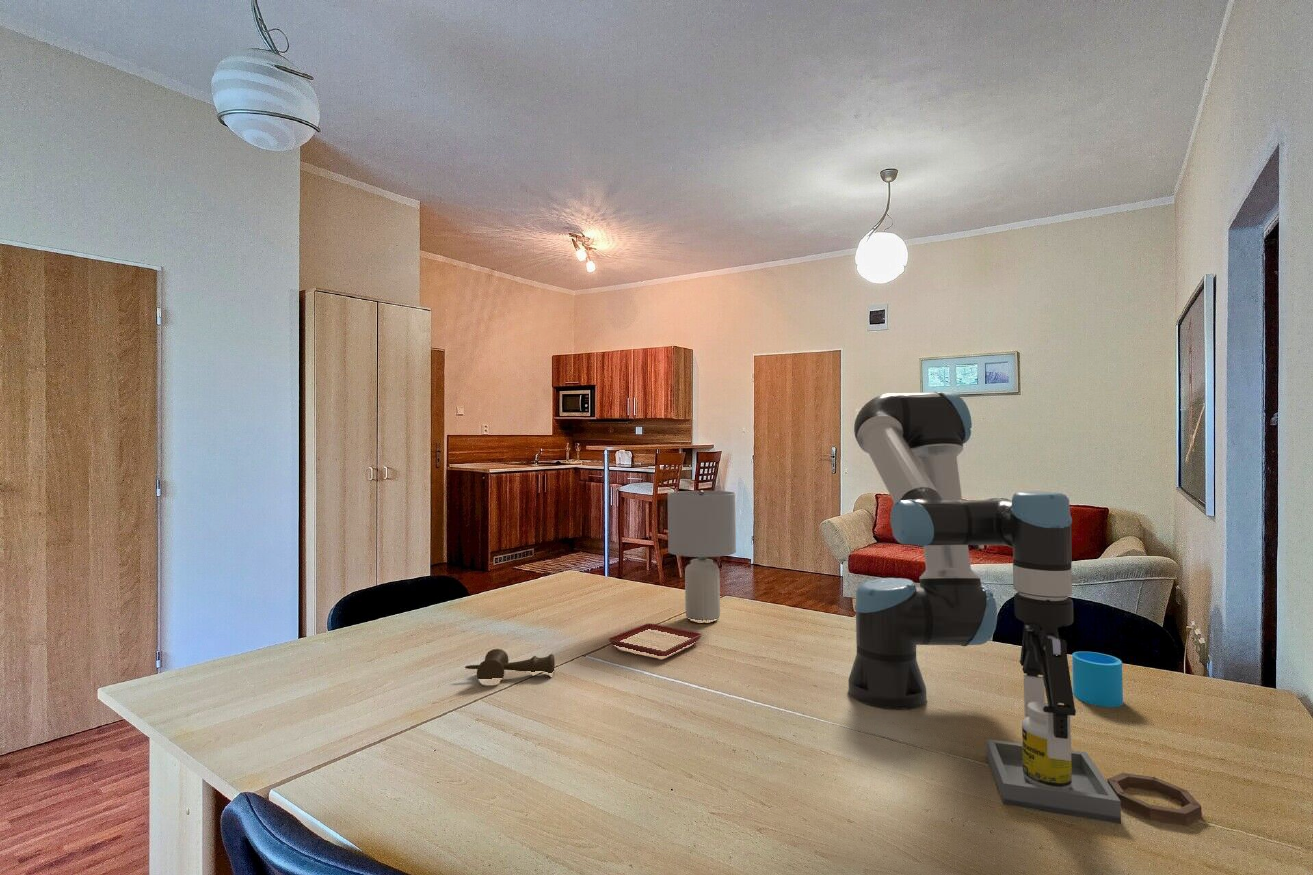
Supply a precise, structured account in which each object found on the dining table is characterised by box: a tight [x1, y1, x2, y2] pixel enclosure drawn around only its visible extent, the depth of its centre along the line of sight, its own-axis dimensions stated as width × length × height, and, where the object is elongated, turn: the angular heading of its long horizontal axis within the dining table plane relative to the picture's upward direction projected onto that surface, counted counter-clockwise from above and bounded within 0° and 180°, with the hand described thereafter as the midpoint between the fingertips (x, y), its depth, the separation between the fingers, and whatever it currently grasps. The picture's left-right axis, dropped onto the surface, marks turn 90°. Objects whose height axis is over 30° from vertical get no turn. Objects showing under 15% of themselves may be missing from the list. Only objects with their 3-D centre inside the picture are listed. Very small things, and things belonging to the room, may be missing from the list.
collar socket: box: [1106, 772, 1203, 827], centre depth 87 cm, size 10×10×2 cm
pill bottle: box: [1021, 702, 1072, 790], centre depth 91 cm, size 6×6×11 cm
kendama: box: [464, 648, 556, 680], centre depth 138 cm, size 6×10×20 cm
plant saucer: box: [607, 623, 703, 656], centre depth 158 cm, size 18×18×3 cm
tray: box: [985, 738, 1122, 825], centre depth 91 cm, size 14×14×3 cm
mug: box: [1071, 651, 1124, 708], centre depth 124 cm, size 12×8×8 cm
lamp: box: [667, 489, 737, 621], centre depth 183 cm, size 20×20×39 cm
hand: (1046, 736), depth 91 cm, fingers open, 13 cm apart
